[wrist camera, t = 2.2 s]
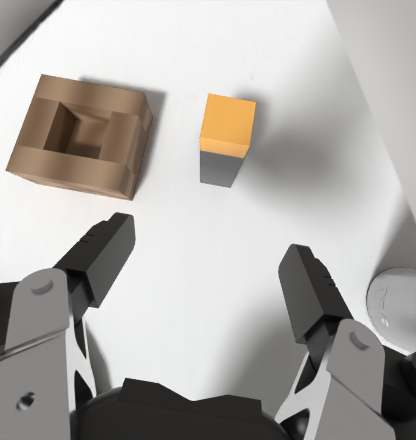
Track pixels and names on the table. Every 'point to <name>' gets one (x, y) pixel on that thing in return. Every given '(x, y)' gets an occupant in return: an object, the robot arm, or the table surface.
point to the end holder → (83, 137)
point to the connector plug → (224, 138)
